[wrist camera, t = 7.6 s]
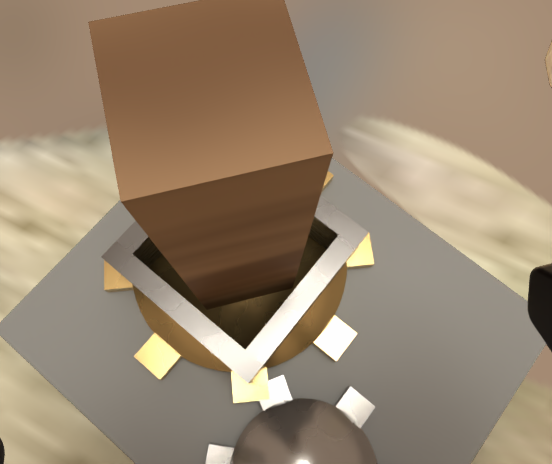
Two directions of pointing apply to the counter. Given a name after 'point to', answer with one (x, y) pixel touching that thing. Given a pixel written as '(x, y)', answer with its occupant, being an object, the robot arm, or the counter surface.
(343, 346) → the gears
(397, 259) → the board
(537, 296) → the robot arm
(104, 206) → the counter surface
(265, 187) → the peg
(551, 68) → the white cup
